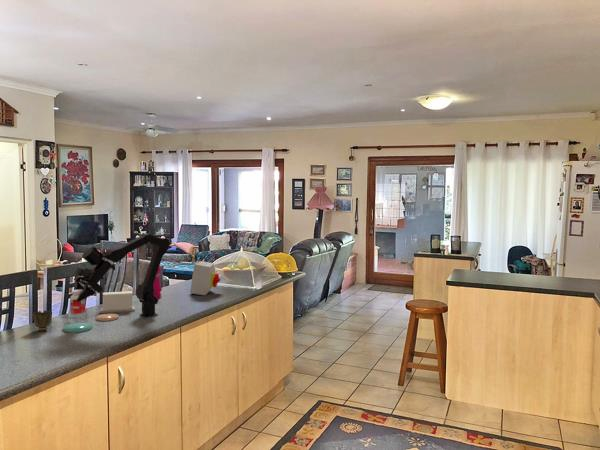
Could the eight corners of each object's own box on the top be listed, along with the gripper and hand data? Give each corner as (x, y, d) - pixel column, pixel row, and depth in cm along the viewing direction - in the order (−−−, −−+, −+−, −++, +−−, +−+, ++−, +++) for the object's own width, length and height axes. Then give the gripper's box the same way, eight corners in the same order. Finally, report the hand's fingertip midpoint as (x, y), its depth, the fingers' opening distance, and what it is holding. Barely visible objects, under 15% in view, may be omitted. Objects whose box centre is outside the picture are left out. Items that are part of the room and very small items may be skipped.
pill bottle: (67, 316, 214) (66, 291, 213) (77, 312, 220) (77, 288, 219) (78, 317, 212) (78, 292, 211) (88, 313, 218) (88, 289, 217)
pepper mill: (158, 298, 278) (158, 263, 277) (146, 297, 280) (146, 263, 278) (164, 295, 285) (164, 261, 284) (152, 294, 287) (152, 261, 285)
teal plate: (98, 328, 217) (98, 326, 217) (71, 334, 208) (71, 332, 208) (83, 323, 225) (83, 321, 224) (57, 329, 215) (57, 326, 215)
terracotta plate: (122, 318, 235) (122, 316, 235) (103, 322, 227) (103, 320, 227) (110, 314, 241) (110, 312, 241) (91, 318, 233) (91, 316, 233)
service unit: (134, 310, 249) (134, 293, 249) (100, 313, 244) (100, 295, 243) (134, 307, 256) (134, 290, 255) (101, 309, 250) (101, 292, 250)
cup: (32, 333, 208) (32, 315, 207) (33, 329, 214) (32, 311, 214) (52, 331, 211) (52, 313, 211) (52, 327, 218) (52, 309, 217)
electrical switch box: (214, 299, 288) (219, 266, 286) (189, 295, 288) (194, 262, 286) (218, 294, 302) (223, 262, 301) (195, 290, 302) (200, 258, 301)
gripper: (77, 258, 223) (52, 285, 216) (95, 263, 210) (69, 292, 203) (95, 273, 230) (71, 300, 223) (113, 278, 217) (88, 307, 210)
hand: (74, 299), depth 215 cm, fingers closed on pill bottle, 6 cm apart
